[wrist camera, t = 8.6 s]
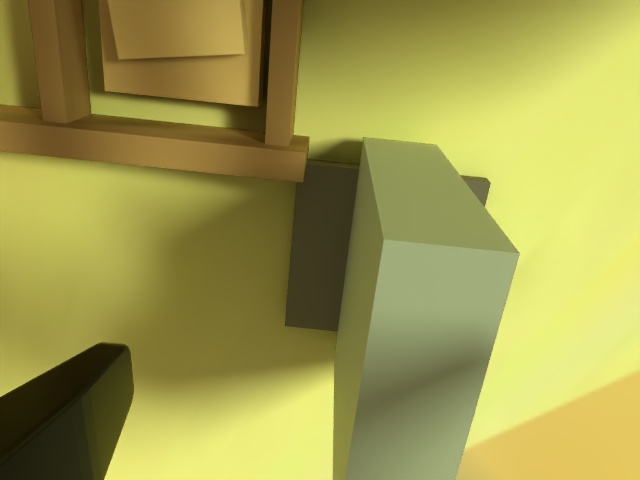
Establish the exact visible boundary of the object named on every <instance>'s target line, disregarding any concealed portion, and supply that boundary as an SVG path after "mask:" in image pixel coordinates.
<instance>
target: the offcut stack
mask: <svg viewBox="0 0 640 480" xmlns="http://www.w3.org/2000/svg"><path fill="white" fill-rule="evenodd" d="M98 3H99V17H100V31H101V45H102V59H103V72H104V86H105V91H111V92H121V93H130V94H140V95H149V96H159V97H168V98H178V99H187V100H197V101H206V102H216V103H226V104H235V105H245V106H254V107H258V106H259V105H260V104H261V103H262V94H263V73H264V53H265V33H266V13H267V0H98Z"/></svg>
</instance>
